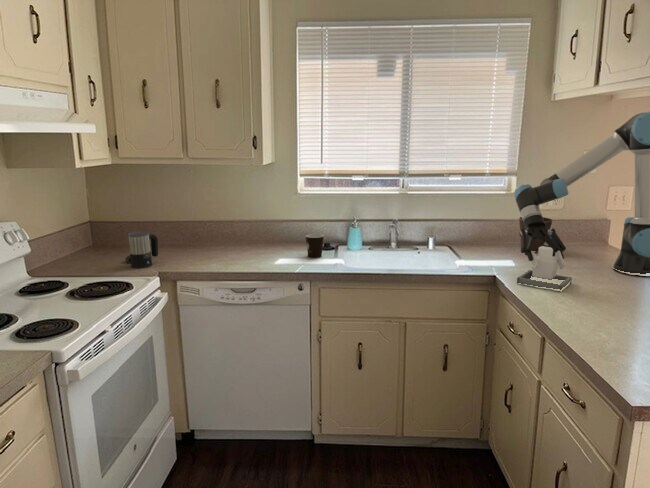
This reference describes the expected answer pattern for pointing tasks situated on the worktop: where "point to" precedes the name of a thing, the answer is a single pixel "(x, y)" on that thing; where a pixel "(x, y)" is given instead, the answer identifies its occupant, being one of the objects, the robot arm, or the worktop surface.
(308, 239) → the coffee mug
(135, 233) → the milk frother
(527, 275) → the tray
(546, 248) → the medicine bottle
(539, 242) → the plant pot
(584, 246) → the worktop surface
